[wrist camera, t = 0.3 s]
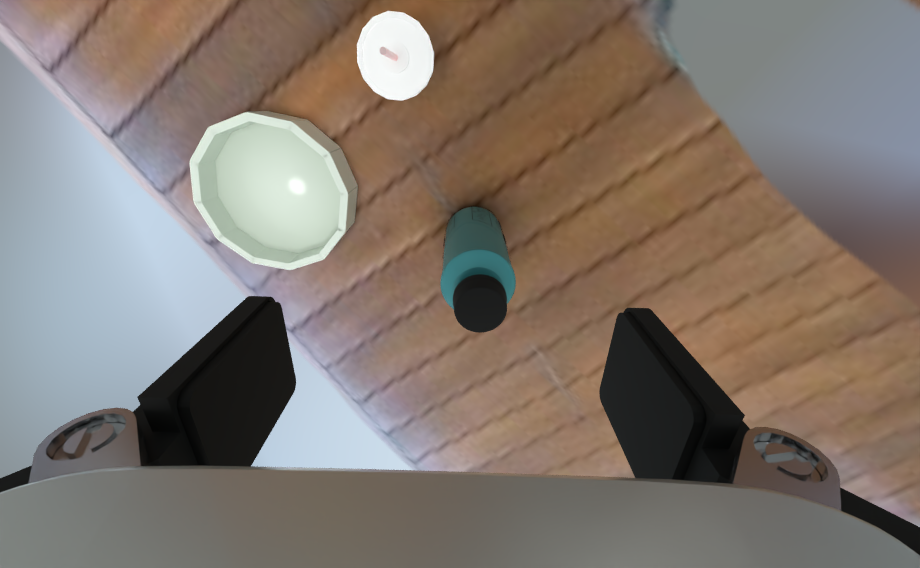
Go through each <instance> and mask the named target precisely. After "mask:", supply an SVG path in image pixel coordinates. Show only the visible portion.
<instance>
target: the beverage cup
mask: <svg viewBox="0 0 920 568" xmlns="http://www.w3.org/2000/svg"><path fill="white" fill-rule="evenodd" d="M357 63H358V66H359V68H360V71H361V74H362V76H363V79H364V80H365V81H366V83H367V84H368V85H369V86H370V87H371V89H372V90H373V91H374V92H376V93H378V94H379V95H381V96H383V97H385V98H386V99H392V100H401V101H403V100H405V99H408V98H411V97H414V96H416V95H418V94H419V93H420V92H421V91H422V90H423V89H424V88H425V87H426V86H427V84H428V82H429V80H430V78H431V75H432V73H433V67H434V51H433V48H432V45H431V41H430V38H429V35H428V34H427V33H426V31H425V30H424V29H423V27H422V26H421V24H420V23H419V22H418V21H417V20H415V19H413V18H412V17H410V16H409V15H407V14H405V13H402V12H393V11H387V12H384V13H382V14H379V15H377V16H374V17H373V18H372V19H371V20H370V21H369V22H368V23H367V24H366V26H365V27H364V28H363V29H362V32H361V35H360V38H359V40H358V43H357Z"/></svg>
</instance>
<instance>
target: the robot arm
mask: <svg viewBox="0 0 920 568" xmlns="http://www.w3.org/2000/svg"><path fill="white" fill-rule="evenodd" d="M295 386H296V378H295V373H294V368H293V363H292V358H291V352H290V347H289V342H288V337H287V332H286V327H285V322H284V317H283V312H282V307H281V305H280V303H279V302H275V300H274V299H273V298H272V297H260V296H249V297H247V298H246V299H245V300H244V301H243V302H242V303H240V304H239V305H238V306H237V307H236V308H235V309H234V310H233V311H232V312H230V313H229V314H228V315H227V316H226V317H225V318H224V319H223V320H222V321H221V322H219V323H218V324H217V325H216V326H215V327H214V328H213V329H212V330H211V331H210V332H209V333H207V334H206V335H205V336H204V337H203V338H202V339H201V340H200V341H199V342H198V343H197V344H195V345H194V346H193V347H192V348H191V349H190V350H189V351H188V352H187V353H186V354H184V355H183V356H182V357H181V358H180V359H179V360H178V361H177V362H176V363H175V364H173V365H172V366H171V367H170V368H169V369H168V370H167V371H166V372H165V373H163V374H162V376H160V377H159V378H158V379H157V380H156V381H155V382H154V383H152V384H151V385H150V386H149V387H148V388H147V389H146V390H145V391H144V392H143V393H142V394H140V395H139V396H138V400H139V402H140V404H141V405H140V406H139V407H138V408H137V409H136V410H135V411H134V412H131V411H130V410H128V409H123V408H111V409H103V410H99V411H95V412H92V413H88V414H86V415H84V416H81V417H79V418H76V419H74V420H72V421H70V422H68V423H67V424H65V425H63V426H61V427H59V428H58V429H57V430H55V431H54V432H53V433H51V434H50V435H48V436H47V437H46V438H45V439H44V440H43V441H42V443H41V444H40V445H39V446H38V448H37V450H36V452H35V454H34V457H33V463H32V466H29V467H27V468H25V469H22V470H20V471H17V472H15V473H12V474H10V475H8V476H5V477H3V478H0V568H920V527H918V526H916V525H914V524H912V523H910V522H908V521H906V520H904V519H902V518H900V517H898V516H896V515H894V514H892V513H890V512H888V511H886V510H884V509H882V508H880V507H878V506H876V505H874V504H872V503H870V502H868V501H866V500H864V499H862V498H860V497H858V496H856V495H854V494H852V493H850V492H848V491H846V490H844V489H842V488H840V478H839V475H838V472H837V469H836V468H835V466H834V465H833V464H832V462H831V461H830V460H829V459H828V458H827V457H826V456H825V455H824V454H823V453H822V452H821V451H819V450H818V449H817V448H815V447H814V446H812V445H811V444H809V443H808V442H806V441H805V440H803V439H801V438H799V437H796V436H794V435H792V434H790V433H787V432H784V431H781V430H778V429H774V428H768V427H755V428H753V429H749V427H748V426H747V425H746V424H745V423H744V422H743V421H742V420H743V418H744V416H745V415H744V414H743V413H742V412H741V410H740V409H739V408H738V407H737V406H736V405H735V404H734V403H733V401H732V400H731V399H730V398H729V397H728V396H727V395H726V394H725V392H724V391H723V390H722V389H721V388H720V387H719V386H718V385H717V383H716V382H715V381H714V380H713V379H712V378H711V377H710V376H709V374H708V373H707V372H706V371H705V370H704V369H703V368H702V367H701V365H700V364H699V363H698V362H697V361H696V360H695V359H694V358H693V356H692V355H691V354H690V353H689V352H688V351H687V350H686V349H685V347H684V346H683V345H682V344H681V343H680V342H679V341H678V340H677V338H676V337H675V336H674V335H673V334H672V333H671V332H670V331H669V329H668V328H667V327H666V326H665V325H664V324H663V323H662V322H661V320H660V319H659V318H658V317H657V316H656V315H655V314H654V313H653V311H652V310H650V309H649V308H627V309H625V311H624V313H619V314H618V316H617V319H616V323H615V328H614V332H613V336H612V340H611V344H610V348H609V353H608V357H607V361H606V365H605V369H604V373H603V378H602V382H601V386H600V400H601V403H602V405H603V407H604V409H605V412H606V414H607V416H608V418H609V420H610V423H611V425H612V427H613V429H614V431H615V434H616V436H617V438H618V440H619V443H620V445H621V447H622V449H623V451H624V454H625V456H626V458H627V460H628V462H629V465H630V467H631V469H632V471H633V474H634V476H635V478H624V477H598V476H569V475H540V474H512V473H480V472H447V471H412V470H409V471H408V470H376V469H375V470H374V469H335V468H291V467H251V465H252V463H253V462H254V460H255V458H256V456H257V454H258V453H259V451H260V450H261V448H262V446H263V444H264V442H265V441H266V439H267V438H268V436H269V434H270V432H271V431H272V429H273V427H274V426H275V424H276V422H277V420H278V418H279V417H280V415H281V413H282V412H283V410H284V408H285V406H286V405H287V403H288V401H289V400H290V398H291V396H292V395H293V393H294V390H295Z"/></svg>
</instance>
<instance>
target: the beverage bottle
mask: <svg viewBox="0 0 920 568" xmlns="http://www.w3.org/2000/svg"><path fill="white" fill-rule="evenodd" d="M489 211H490V210H486V208H485V209H484V208H480V207H479V206H478V207H468V208H464V209H462V210H460V211H459V212H457V213H456V214H455V213H454V214H455V215H454V216H453V217H452V216H451V217H452V218H450V219H451V220H449V223H447V224H448V226H447V231H446V230H445V231H446V232H445V233H446V239H445V237H444V241H445V245H443V247H444V246H445V249H444V252H443V253H444V259H443V260H444V261H443V272H442V276H441V291H442V294H443V297H444V299H445V300H446V302H447V303H448V304H449V305H450V307H452V308H453V309H454V313H455V316H456V319H457V321H458V322H459V323H460V324H461V325H462V326H463V327H464V328H466V329H467V330H470V331H473V332H487V331H490V330H493V329H495V328H496V327H498V326H499V325H500V324H501V323H502V322H503V320H504V318H505V316H506V313H507V303H508V302H509V301H510V299H511V298H512V296H513V294H514V290H515V285H516V280H515V274H514V271H513V268H512V266H511V263H510V262H511V260H509V256H508V252H507V248H508V247H507V246H506V242H504V241H505V238H503V237H504V235H503V234H502V233H503V232H501V230H502V229H500V228H501V226H499V225H500V223H498V222H499V221H497V219H496V218H497V217H495V215H494V214H492V213H491V212H489ZM506 247H507V248H506Z"/></svg>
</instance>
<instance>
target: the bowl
mask: <svg viewBox="0 0 920 568" xmlns="http://www.w3.org/2000/svg"><path fill="white" fill-rule="evenodd" d="M340 148H341V147H339V146H338V145H337V144H336V143H335V142H334V141H332V140H331V139H330V138H329V137H328V136H326V135H325V134H324V133H323V132H322V131H320V130H319V129H318V128H317V127H316V126H314V125H313V124H312V123H311V122H310V121H308V120H307V119H303V118H298V117H293V116H289V115H284V114H280V113H275V112H270V111H254V112H245V113H242V114H240V115H237V116H235V117H232V118H230V119H227V120H225V121H222V122H220V123H217V124H215V125H212V126H210V127H208V129H207V130H206V132H205V134H204V136H203V138H202V139H201V141H200V143H199V145H198V147H197V149H196V150H195V152H194V154H193V156H192V158H191V159H190V172H191V181H192V191H193V201H194V202H195V203H194V204H195V205H196V207H197V209H198V210H199V212H200V213H201V215H202V216H203V218H204V220H205V221H206V223H207V224H208V226H209V227H210V229H211V230H212V232H213V234H214V235H215V237H216V238H217V239H218V240H219V241H220V242H222V243H223V244H225V245H226V246H228V247H229V248H231V249H232V250H234V251H235V252H237V253H238V254H239V255H241V256H242V257H244V258H245V259H247V260H248V261H250V262H251V263H254V264H260V265H265V266H270V267H276V268H281V269H287V270H292V269H296V268H299V267H302V266H305V265H308V264H311V263H314V262H317V261H320V260H324V259H325V258H326V256H327V255H328V254H329V253H330V252H331V251H332V249H333V248H334V247H335V246H336V245H337V243H338V242H339V241H340V240H341V238H342V237H343V236H344V235H345V233H346V232H347V231H348V230H349V228H350V227H351V226H352V224H353V223H354V222H355V213H356V202H357V191H358V185H357V183H356V180H355V178H354V176H353V173H352V171H351V169H350V167H349V164H348V162H347V160H346V158H345V155H344V153H343V151H342V149H340Z"/></svg>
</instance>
